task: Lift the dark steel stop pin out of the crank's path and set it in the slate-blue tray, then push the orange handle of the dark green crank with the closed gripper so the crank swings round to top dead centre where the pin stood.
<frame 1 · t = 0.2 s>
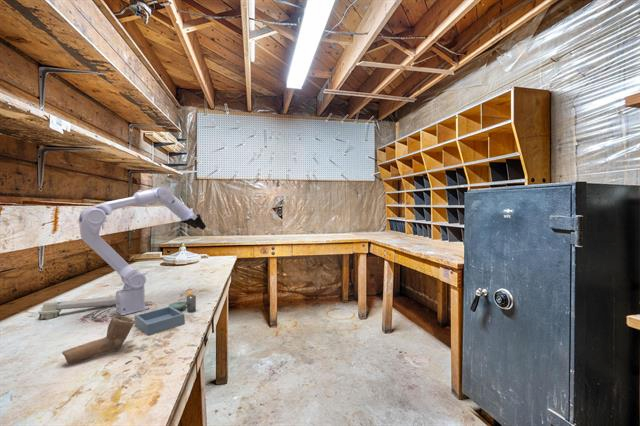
hand: (200, 227, 137), 31 cm above the workbench, tool tilted 45°, fingers open, 7 cm apart
stop pin: (191, 311, 117), on the workbench
tray: (159, 324, 104), on the workbench
crank hub: (177, 310, 117), on the workbench
pipe: (101, 355, 84), on the workbench
toothbrush head: (82, 312, 117), on the workbench
crank: (181, 299, 119), point 4 cm above the workbench, hinge at 0.0°
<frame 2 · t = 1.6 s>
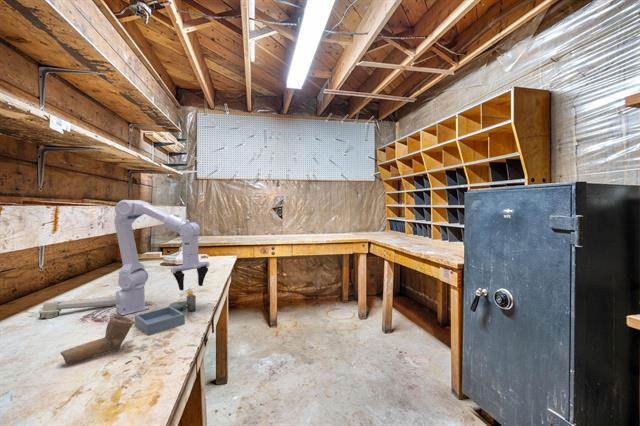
hand: (191, 287, 116), 9 cm above the workbench, tool pointing down, fingers open, 7 cm apart
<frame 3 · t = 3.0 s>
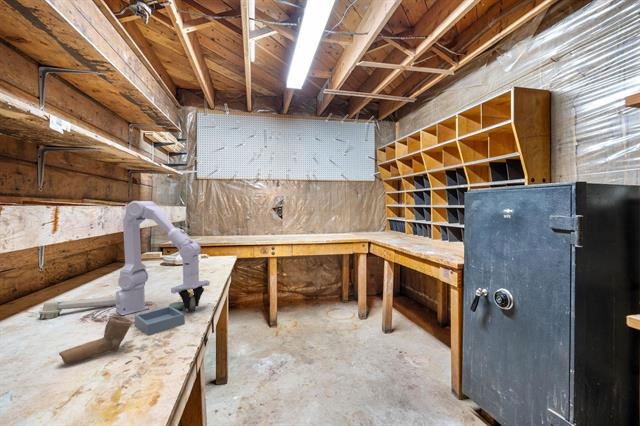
hand: (191, 307, 117), 2 cm above the workbench, tool pointing down, fingers closed on stop pin, 3 cm apart
stop pin: (191, 311, 117), on the workbench, touching gripper
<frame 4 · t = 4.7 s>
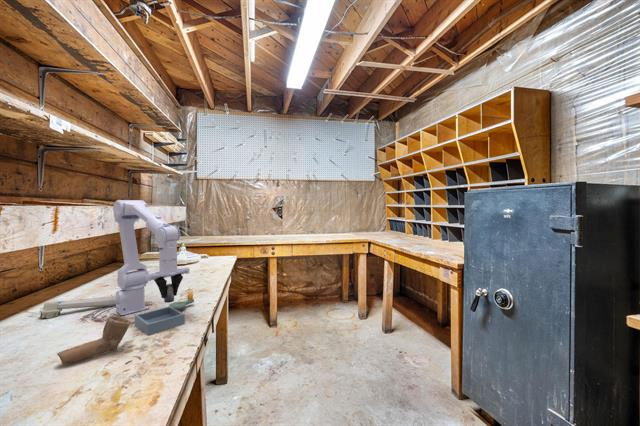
hand: (169, 296, 107), 9 cm above the workbench, tool pointing down, fingers closed on stop pin, 3 cm apart
stop pin: (169, 301, 107), point 7 cm above the workbench, touching gripper
when the fingers open (4 cm above the workbench, at t = 6.2 s): stop pin drops 1 cm, resting on tray.
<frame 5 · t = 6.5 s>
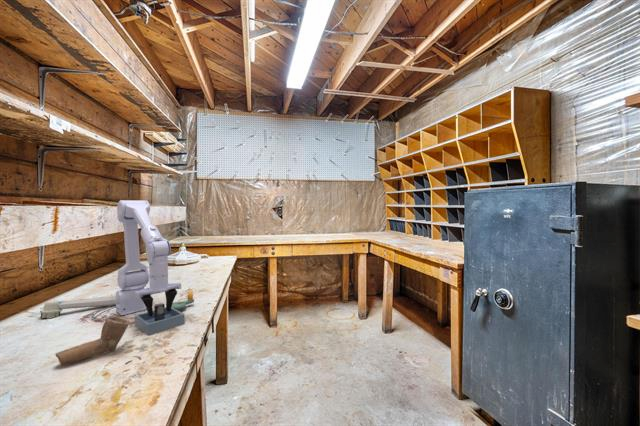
hand: (159, 313, 104), 4 cm above the workbench, tool pointing down, fingers open, 5 cm apart
stop pin: (159, 321, 104), point 1 cm above the workbench, touching tray
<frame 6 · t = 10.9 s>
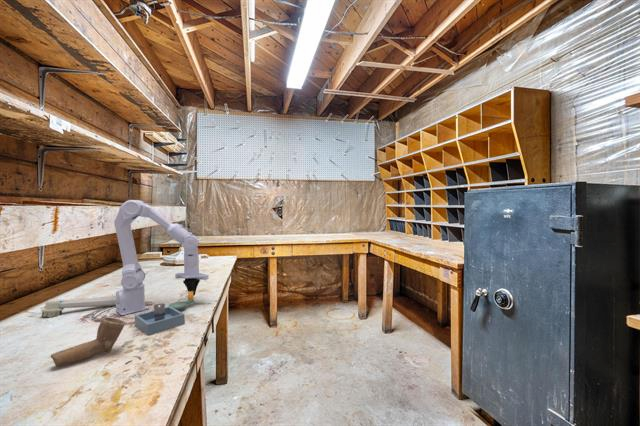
hand: (192, 295, 125), 3 cm above the workbench, tool pointing down, fingers closed
crank: (182, 299, 119), point 4 cm above the workbench, hinge at -3.0°, touching gripper
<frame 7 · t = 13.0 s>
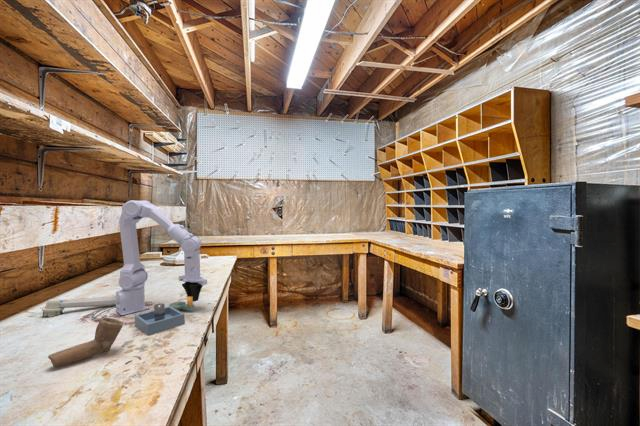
hand: (193, 300, 119), 4 cm above the workbench, tool pointing down, fingers closed
crank: (181, 301, 117), point 4 cm above the workbench, hinge at -78.0°, touching gripper
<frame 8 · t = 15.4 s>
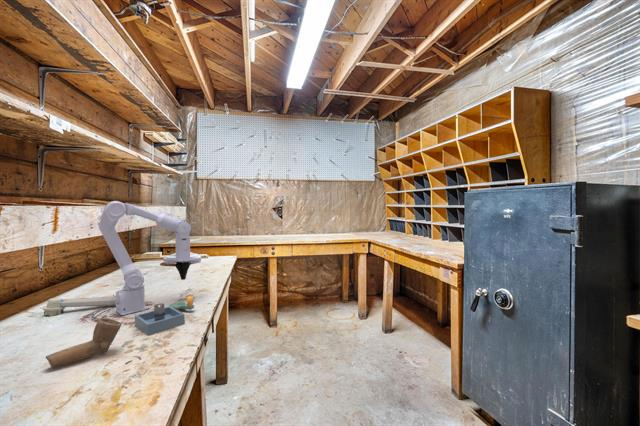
hand: (183, 279, 129), 9 cm above the workbench, tool pointing down, fingers closed
crank: (181, 301, 117), point 4 cm above the workbench, hinge at -78.0°
at the end: stop pin inside the target area on the tray (0.0 cm from its centre), point 1.0 cm above the tray's base; stop pin tilted 0°; crank at -78° (first picture: +0°) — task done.
